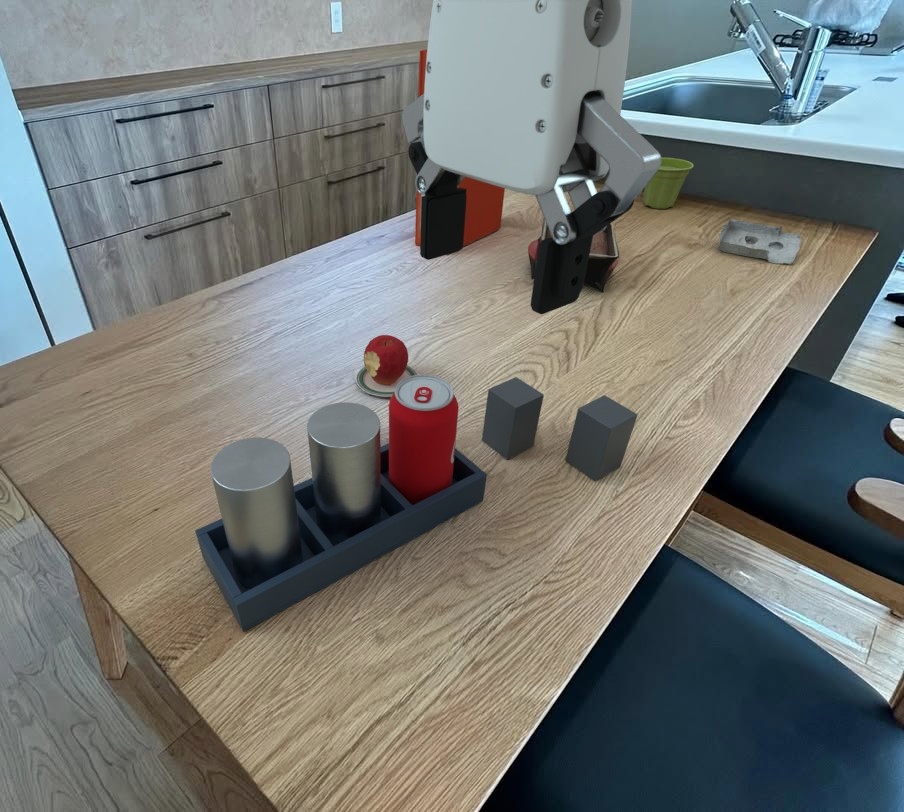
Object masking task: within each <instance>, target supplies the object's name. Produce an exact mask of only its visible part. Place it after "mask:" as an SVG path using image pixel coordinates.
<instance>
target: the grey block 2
mask: <svg viewBox="0 0 904 812" xmlns="http://www.w3.org/2000/svg"><path fill="white" fill-rule="evenodd" d="M638 416H639V415H638V413H636V412H634V411H633V410H631V409H630V408H627V407H626V406H624V405H623V404H621V403H620V402H618V401H616V400H614V399H612V398H610V397H608V396H607V395H605V394H603V395H602V396H600V397H598V398H595V399H593V400H592V401H590V402H588V403H586V404H584V405H582V406H580V407H578V408H577V410H576V416H575V419H574V422H573V423H574V424H573V428H572V431H571V436H570V439H569V440H570V441H569V444H568V448H567V452H566V456H565V459H564V460H565V462H567V463H568V464H570V465H571V466H572V467H573V468H575V469H577V470H578V471H579V472H581V473H582V474H584V475H585V476H586V477H588V478H589V479H590V480H592V481H594V482H595V483H596V482H597V481H599V480H602V479H603V478H604V477H606V476H608V475H609V474H611V473H613V472H614V471H617V470H618V469H620V468H621V467H622V464H623V461H624V459H625V458H624V457H625V455H626V452H627V448H628V446H629V442H630V439H631V437H632V433H633V431H634V427H635V424H636V421H637V418H638Z"/></svg>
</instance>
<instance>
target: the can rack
mask: <svg viewBox="0 0 904 812" xmlns="http://www.w3.org/2000/svg"><path fill="white" fill-rule="evenodd" d="M380 470H381V522H380V523H378V524H376V525H374V526H372V527H370V528H368V529H366V530H364V531H362V532H360V533H358V534H357V535H355V536H353V537H351V538H349V539H347V540H345V541H343V542H341V543H339V544H337V545H335V546H333V545H332V544H331V543H330V541H329V540H328V539H327V537H326V536H325V535H324V534H323V532H322V531H321V530H320V529H319V527H318V526H317V520H316V510H315V500H314V490H313V480H312V477H311V478H308V479H306V480H304V481H302V482H300V483H297V484H294V491H295V499H296V507H297V515H298V523H299V530H300V538H301V546H302V554H303V562H302V563H300V564H299V565H297V566H295V567H293V568H291V569H289V570H287V571H285V572H283V573H281V574H279V575H277V576H275V577H273V578H271V579H269V580H268V581H266V582H264V583H262V584H260V585H258V586H256V587H254V588H252V589H248V588H246V587H245V586H243V585H242V584H241V583H240V582H239V580H238V579H237V577H236V574H235V571H234V567H233V562H232V558H231V554H230V550H229V546H228V542H227V538H226V533H225V529H224V525H223V521H222V518H220V519H217V520H215V521H213V522H210V523H208V524H206V525H204V526H202V527H199V528H197V529H196V530H195V535H196V538H197V543H198V546H199V549H200V553H201V556H202V559H203V560H204V562H205V564H206V566H207V568H208V570H209V571H210V573H211V575H212V577H213V579H214V581H215V582H216V585H217V586H218V588H219V590H220V592H221V593H222V596H223V597H224V599H225V601H226V603H227V604H228V607H229V608H230V610H231V612H232V614H233V616H234V618H235V619H236V621H237V624H238V625H239V627H240V629H241V631H242V632H243V633H245V632H246V631H248V630H250V629H252V628H253V627H255V626H257V625H260V624H261V623H263V622H265V621H267V620H268V619H270V618H272V617H273V616H276V615H277V614H279V613H281V612H282V611H285V610H286V609H289V608H290V607H292V606H294V605H296V604H297V603H299V602H301V601H303V600H305V599H307V598H308V597H310V596H312V595H314V594H317V592H319V591H322V590H323V589H325V588H326V587H328V586H330V585H332V584H334V583H335V582H338V581H339V580H341V579H343V578H345V577H347V576H349V575H350V574H353V573H354V572H357V570H359V569H361V568H364V567H365V566H367V565H368V564H370V563H373V562H374V561H376V560H378V559H379V558H382V557H383V556H385V555H387V554H389V553H391V552H392V551H395V550H396V549H398V548H400V547H402V546H403V545H405V544H407V543H409V542H411V541H413V540H414V539H417V538H418V537H420V536H421V535H424V534H425V533H428V532H429V531H431V530H432V529H435V528H437V527H438V526H440V525H442V524H444V523H445V522H447V521H449V520H451V519H452V518H455V517H457V516H458V515H460V514H462V513H463V512H465V511H467V510H469V509H471V508H473V507H475V506H476V505H478V504H481V503H482V502H483V501H484V499H485V492H486V484H487V478H488V474H487V472H485V471H484V470H483V469H481V468H480V467H479V466H477V465H476V464H475V463H474V462H473V461H472V460H471V459H469V458H468V457H467V456H466V455H464V454H463V453H462V452H461V451H459V450H458V449H457V448H456V447H455V454H454V465H453V477H452V485H451V486H449V487H447V488H446V489H444V490H442V491H440V492H438V493H436V494H434V495H432V496H430V497H428V498H426V499H424V500H422V501H420V502H418V503H417V504H415V505H411V504H410V503H409V502H408V500H407V499H406V498H405V497H404V496H403V495H402V494H401V493H400V492H399V491H398V490H397V489H396V488H395V487H394V486H393V485H392V484H391V483H390V482H389V442H388V443H386V444H384V445H381V446H380Z"/></svg>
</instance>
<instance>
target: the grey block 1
mask: <svg viewBox="0 0 904 812" xmlns="http://www.w3.org/2000/svg"><path fill="white" fill-rule="evenodd" d="M544 395H545V394H544V393H542V392H540V391H539V390H537V389H536V388H534V387H533V386H532V385H529V384H528V383H526V381H523V380H521V379H520V378H518V377H517V376H515V377H513V378H510V379H508V380H506V381H504V382H501V383H499V384H497V385H494V386H493V387H490V388H488V390H487V396H486V405H485V413H484V421H483V429H482V436H481V441H482V442H483V443H485V444H486V445H487V446H488V447H490V448H491V449H493V450H494V451H495V452H496V453H498V454H499V455H500V456H502V457H503V458H504V459H505V460H509V459H511V458H514V457H515V456H518V455H519V454H521V453H524V452H525V451H527V450H528V449H531V448H533V447H534V446H535V441H536V436H537V431H538V425H539V421H540V417H541V416H540V415H541V410H542V407H543V406H542V405H543V401H544V397H545V396H544Z"/></svg>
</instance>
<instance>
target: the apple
mask: <svg viewBox="0 0 904 812" xmlns="http://www.w3.org/2000/svg"><path fill="white" fill-rule="evenodd" d="M408 362H409V351H408V348H407V346H406V344H405V343H404V342H403V340H401V339H399V338H397V337H395V336H393V335H389V334H381V335H377V336H376V337H375V336H374V337H373V338H372V339H371V340H370V341H369V342H368V344H367V345H366V347H365V349H364V352H363V365H364V366H363V367H361V368H360V369H359V370H358V372H357V374H356V375H355V383H356V385H357V386H358V388H359V389H361V391H363V392H364V393H366V394H369V395H371V396H374V397H381V398H391V397H392V395H393V393H394V392H395V387H396V386H397V384H398V383H399V382H400V381H401V380H403V379H404V378H407V377H410V376H414V375H419V374H418V372H417V370H415V369H414V368H413V367H412V366H410V365H408Z"/></svg>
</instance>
